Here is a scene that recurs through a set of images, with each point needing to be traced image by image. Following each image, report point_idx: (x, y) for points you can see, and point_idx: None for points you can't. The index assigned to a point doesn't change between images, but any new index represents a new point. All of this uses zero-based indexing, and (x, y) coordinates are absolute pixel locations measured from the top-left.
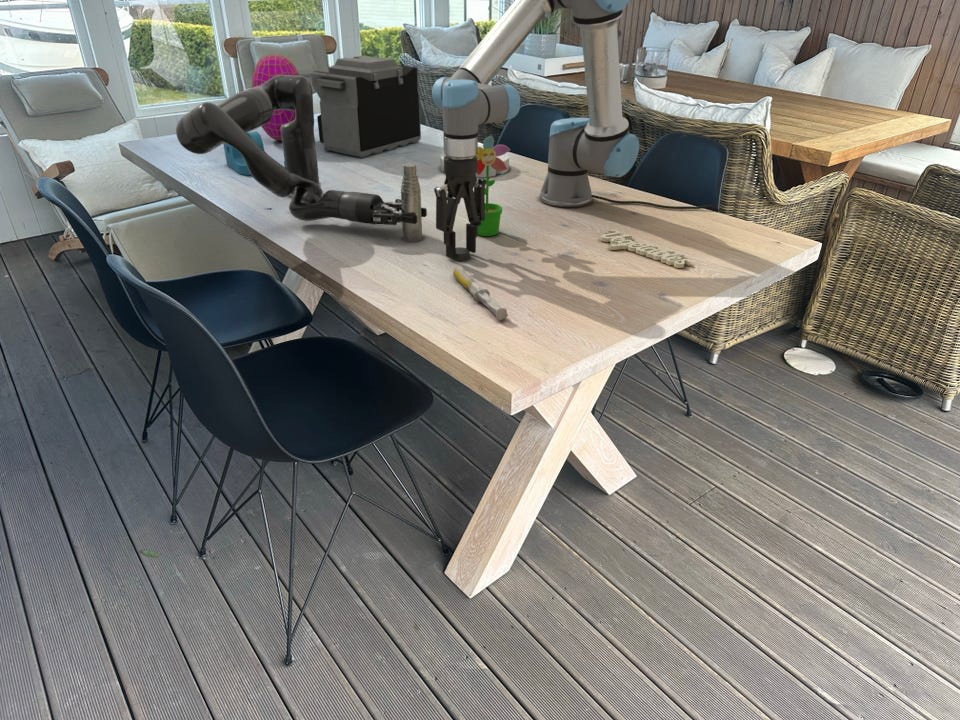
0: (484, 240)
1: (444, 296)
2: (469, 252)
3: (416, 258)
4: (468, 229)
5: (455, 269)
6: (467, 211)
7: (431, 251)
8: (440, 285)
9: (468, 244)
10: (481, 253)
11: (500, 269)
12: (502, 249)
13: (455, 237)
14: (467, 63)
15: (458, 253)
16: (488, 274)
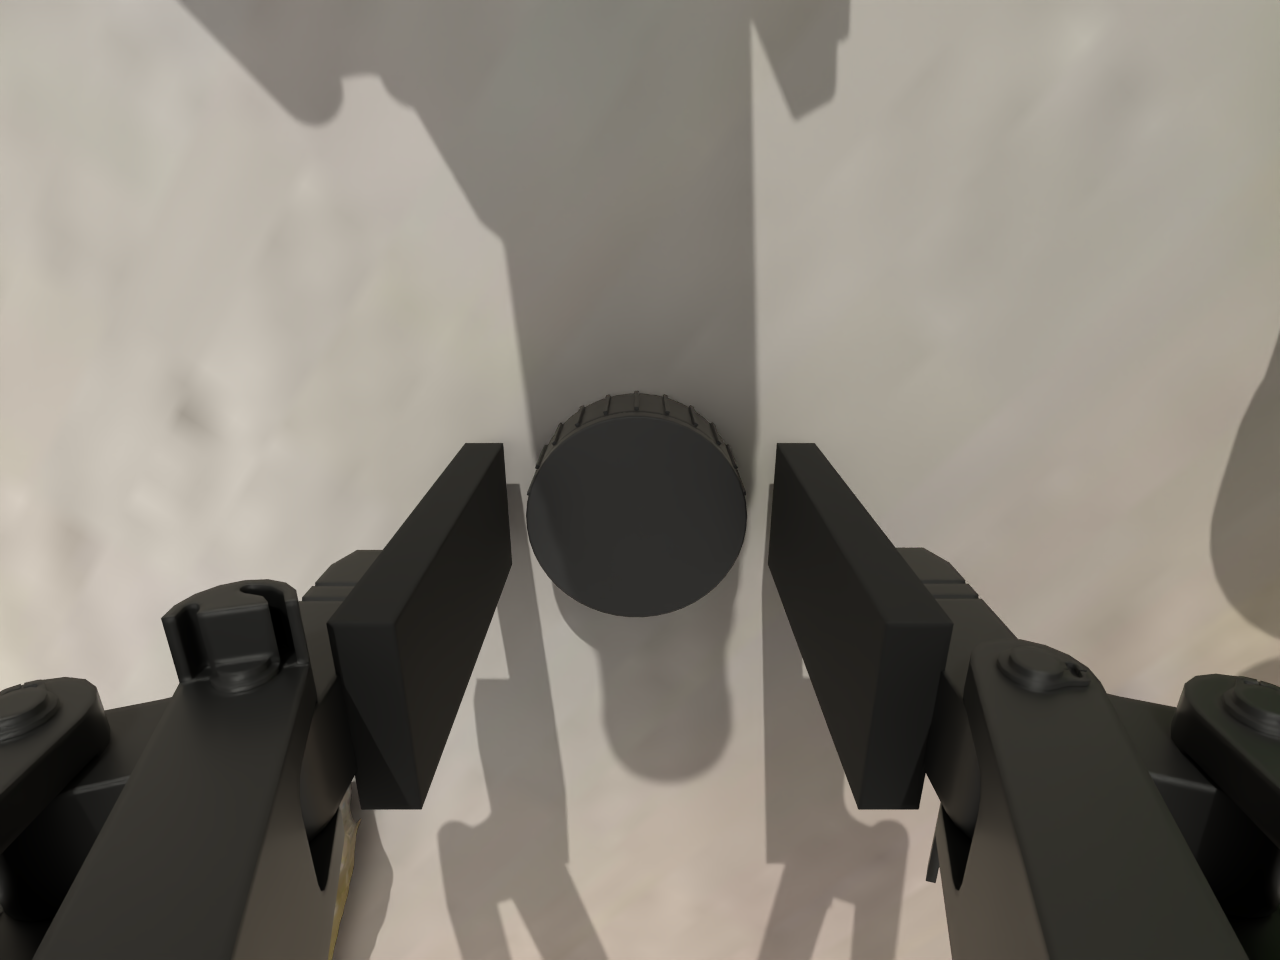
0: (1264, 240)
1: None
2: (700, 591)
3: (183, 168)
4: (849, 633)
5: None
6: (1023, 941)
7: (473, 88)
8: None
9: (790, 517)
10: (889, 531)
11: (730, 866)
12: (1130, 583)
13: (447, 735)
14: None
15: (557, 572)
16: (584, 876)
